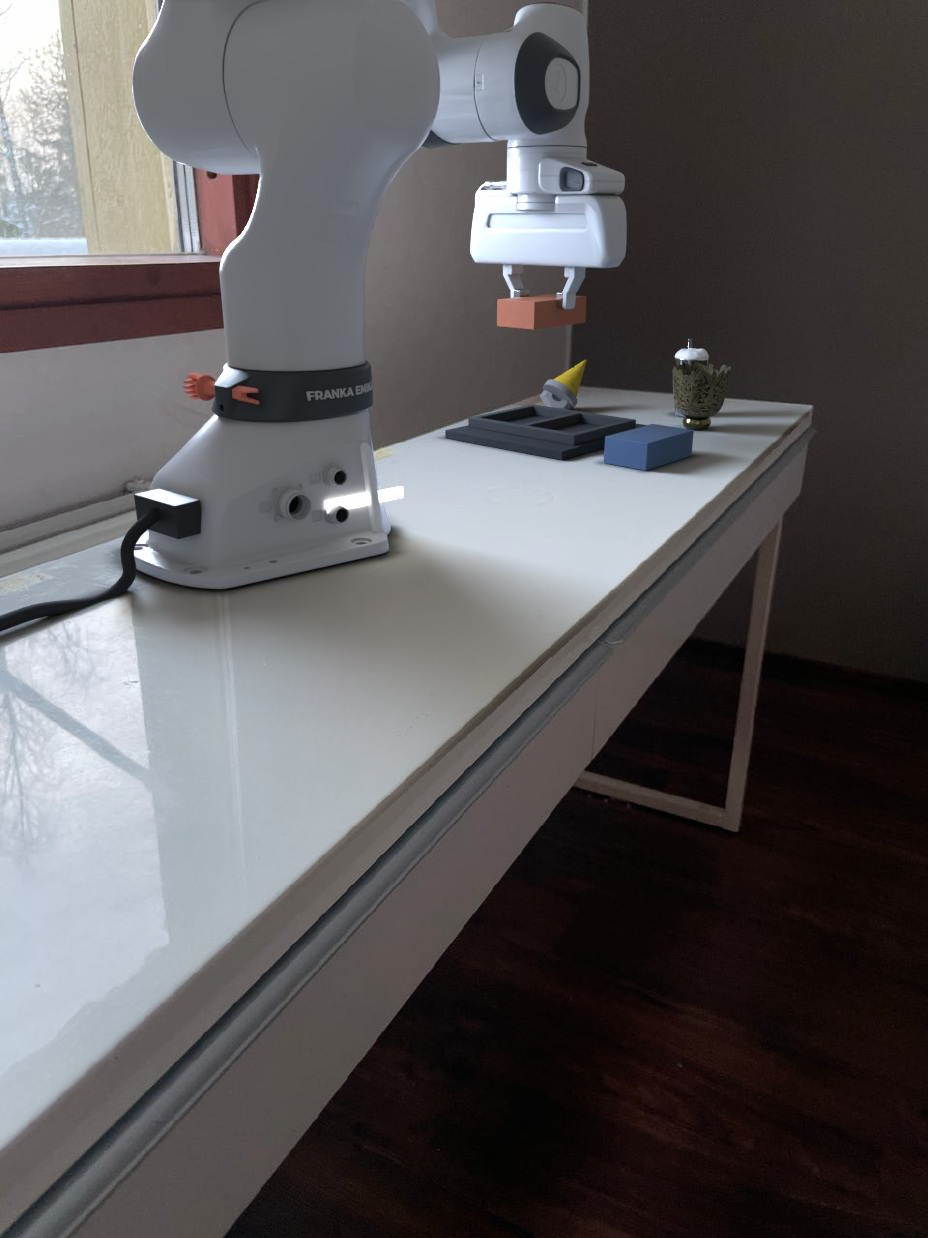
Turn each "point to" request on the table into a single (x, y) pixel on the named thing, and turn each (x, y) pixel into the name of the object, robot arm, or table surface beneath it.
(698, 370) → the cup
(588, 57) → the robot arm
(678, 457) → the blue rectangular block
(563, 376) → the yellow cone tip
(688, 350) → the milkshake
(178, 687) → the table surface
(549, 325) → the orange-red rectangular block
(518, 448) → the backing plate
